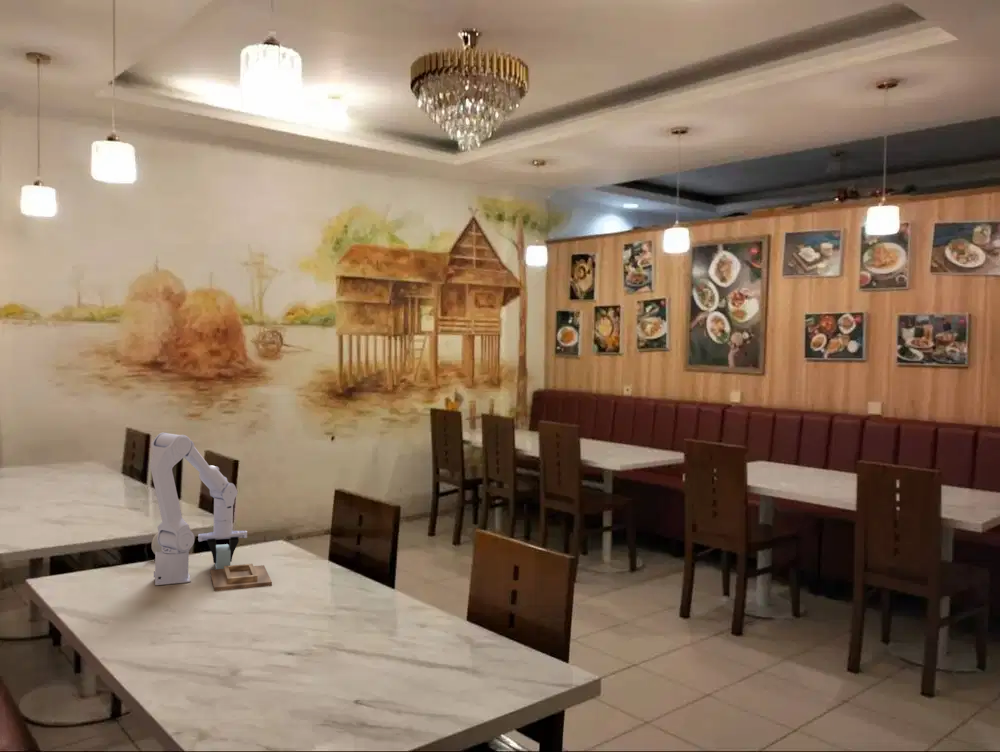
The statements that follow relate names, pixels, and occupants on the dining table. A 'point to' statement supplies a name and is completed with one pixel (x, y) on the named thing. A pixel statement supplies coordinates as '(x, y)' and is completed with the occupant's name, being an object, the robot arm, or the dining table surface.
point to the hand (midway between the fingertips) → (222, 561)
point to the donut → (155, 544)
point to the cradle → (239, 577)
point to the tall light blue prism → (222, 556)
